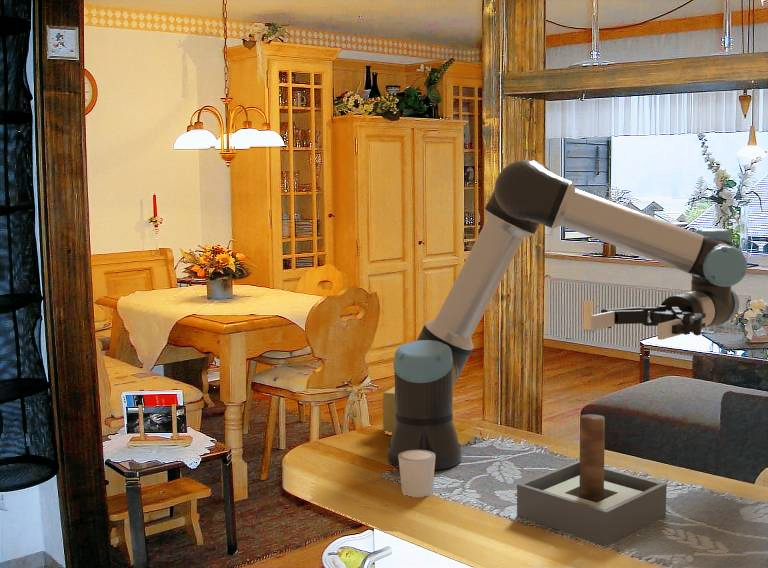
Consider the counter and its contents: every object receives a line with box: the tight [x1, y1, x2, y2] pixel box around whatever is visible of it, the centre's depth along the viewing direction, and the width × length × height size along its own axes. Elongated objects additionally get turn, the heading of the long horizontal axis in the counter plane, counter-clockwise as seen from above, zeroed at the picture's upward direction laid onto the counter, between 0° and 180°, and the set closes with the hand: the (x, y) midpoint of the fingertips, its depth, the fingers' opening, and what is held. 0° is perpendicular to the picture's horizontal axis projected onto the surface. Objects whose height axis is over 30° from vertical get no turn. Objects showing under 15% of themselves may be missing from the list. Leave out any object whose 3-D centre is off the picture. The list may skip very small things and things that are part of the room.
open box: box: [516, 459, 667, 547], centre depth 150 cm, size 18×18×6 cm
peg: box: [579, 413, 606, 503], centre depth 150 cm, size 4×4×16 cm
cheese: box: [382, 385, 395, 433], centre depth 201 cm, size 10×11×10 cm
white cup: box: [398, 450, 435, 498], centre depth 163 cm, size 7×7×7 cm
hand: (624, 327), depth 159 cm, fingers open, 13 cm apart
